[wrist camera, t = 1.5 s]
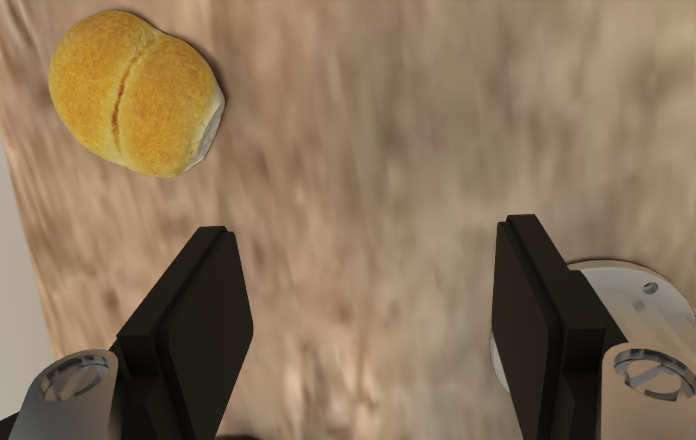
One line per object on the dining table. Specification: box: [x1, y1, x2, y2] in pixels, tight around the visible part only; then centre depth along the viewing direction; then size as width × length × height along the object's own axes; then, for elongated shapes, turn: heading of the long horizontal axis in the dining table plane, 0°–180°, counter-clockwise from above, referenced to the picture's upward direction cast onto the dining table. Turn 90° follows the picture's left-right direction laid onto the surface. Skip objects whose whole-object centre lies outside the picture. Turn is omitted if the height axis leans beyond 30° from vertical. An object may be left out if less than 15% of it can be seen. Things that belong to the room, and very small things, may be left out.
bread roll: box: [49, 10, 225, 177], centre depth 26 cm, size 8×9×4 cm
